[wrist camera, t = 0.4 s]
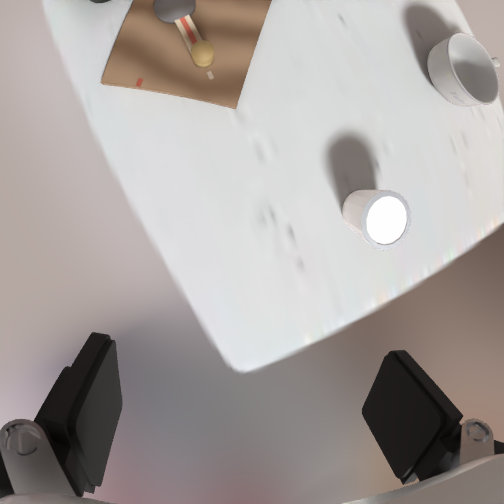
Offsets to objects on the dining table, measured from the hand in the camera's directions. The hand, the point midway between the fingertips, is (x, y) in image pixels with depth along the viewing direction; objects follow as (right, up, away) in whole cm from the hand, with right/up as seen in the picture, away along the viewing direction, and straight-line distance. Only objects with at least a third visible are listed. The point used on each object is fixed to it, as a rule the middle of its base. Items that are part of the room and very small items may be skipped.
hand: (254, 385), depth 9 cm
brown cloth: (-7, +32, +20) cm, 39 cm away
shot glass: (+14, +10, +29) cm, 34 cm away
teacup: (+31, +32, +25) cm, 51 cm away
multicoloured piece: (-8, +31, +19) cm, 37 cm away
